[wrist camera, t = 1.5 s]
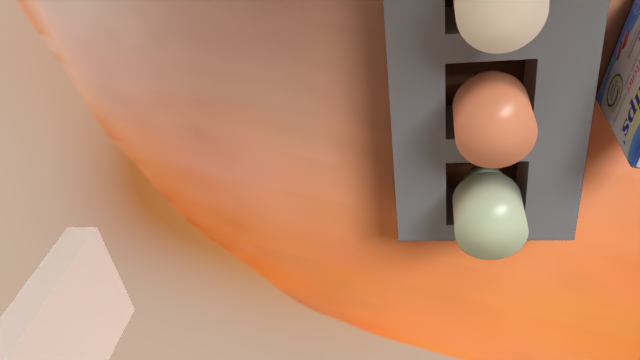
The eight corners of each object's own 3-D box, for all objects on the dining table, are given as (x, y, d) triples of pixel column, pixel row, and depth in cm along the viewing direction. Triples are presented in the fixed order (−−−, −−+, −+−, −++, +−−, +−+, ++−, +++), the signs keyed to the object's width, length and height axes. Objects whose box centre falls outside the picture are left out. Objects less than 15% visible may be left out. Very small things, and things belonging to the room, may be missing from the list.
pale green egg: (451, 155, 41) (454, 205, 37) (519, 153, 40) (531, 204, 36) (451, 207, 43) (454, 259, 39) (515, 206, 43) (525, 259, 38)
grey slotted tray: (382, -100, 35) (377, -83, 32) (603, -123, 33) (625, -107, 29) (400, 202, 48) (398, 240, 44) (562, 200, 45) (574, 240, 42)
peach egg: (451, 59, 37) (455, 101, 33) (526, 55, 36) (541, 97, 32) (451, 122, 39) (454, 169, 35) (521, 119, 39) (534, 167, 34)
